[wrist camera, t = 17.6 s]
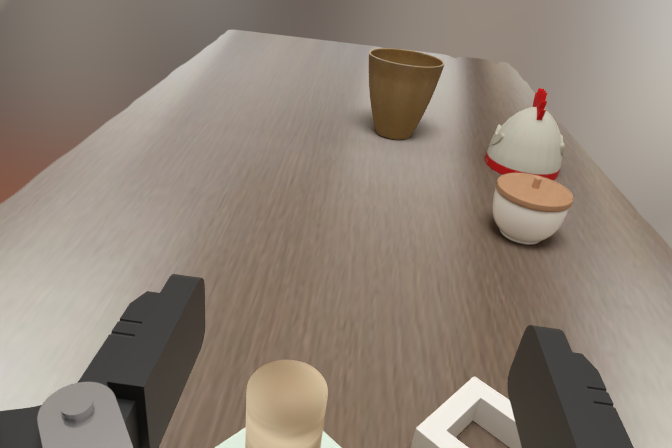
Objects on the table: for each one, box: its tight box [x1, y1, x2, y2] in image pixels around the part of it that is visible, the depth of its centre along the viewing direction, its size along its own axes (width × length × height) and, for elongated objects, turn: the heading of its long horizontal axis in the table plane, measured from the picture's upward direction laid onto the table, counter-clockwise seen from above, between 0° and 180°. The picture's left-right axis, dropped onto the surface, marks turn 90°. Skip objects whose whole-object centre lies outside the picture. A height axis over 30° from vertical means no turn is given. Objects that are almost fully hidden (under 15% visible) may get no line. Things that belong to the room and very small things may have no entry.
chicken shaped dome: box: [485, 88, 565, 180], centre depth 101 cm, size 14×14×15 cm
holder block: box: [411, 376, 522, 448], centre depth 45 cm, size 9×9×3 cm
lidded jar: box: [492, 173, 573, 245], centre depth 79 cm, size 11×11×9 cm
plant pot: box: [369, 48, 444, 140], centre depth 109 cm, size 15×15×16 cm
